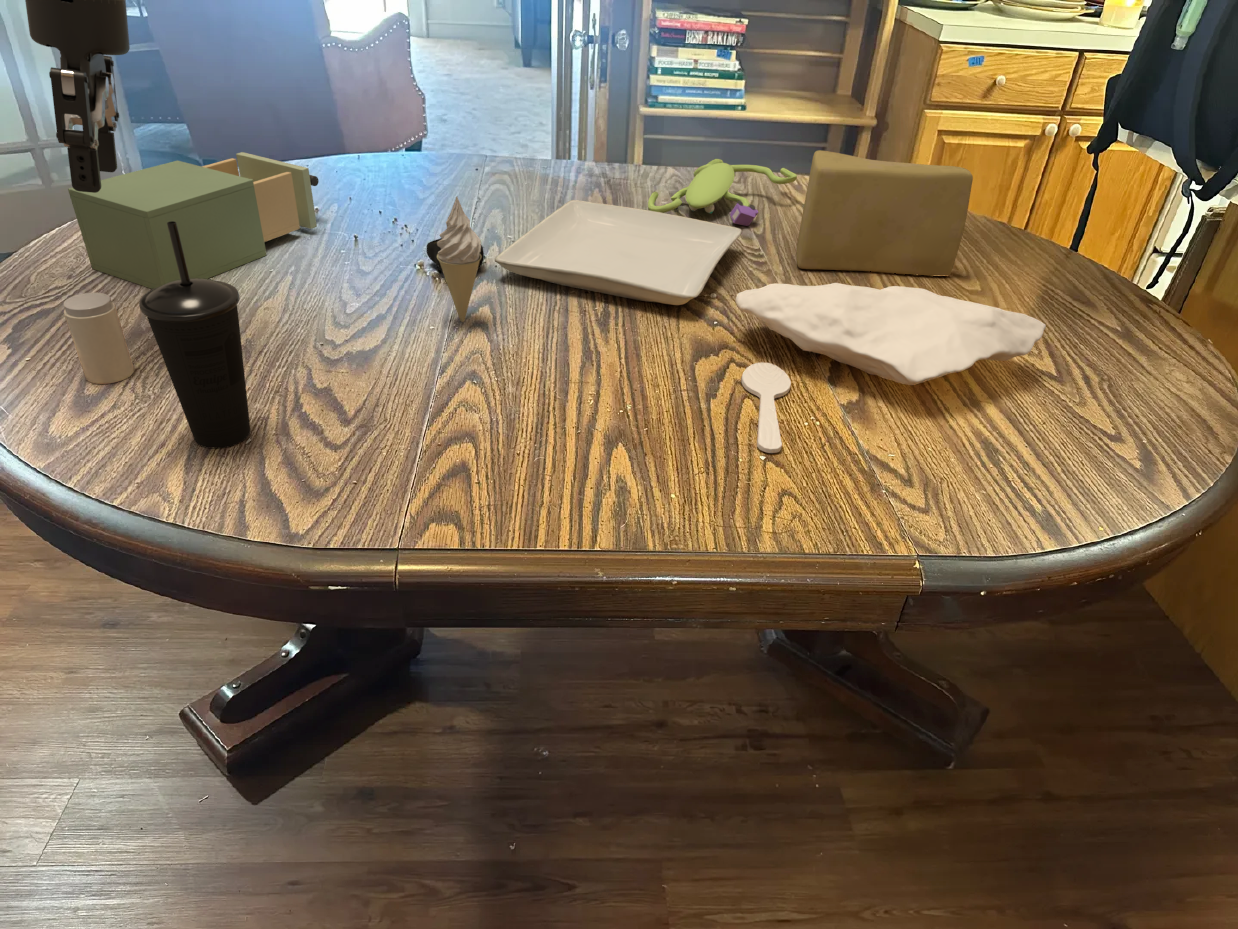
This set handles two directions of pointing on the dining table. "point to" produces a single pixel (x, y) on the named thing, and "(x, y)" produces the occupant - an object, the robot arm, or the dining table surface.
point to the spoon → (767, 401)
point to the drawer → (276, 192)
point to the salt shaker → (98, 338)
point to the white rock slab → (892, 328)
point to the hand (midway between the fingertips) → (96, 180)
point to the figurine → (719, 190)
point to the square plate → (621, 251)
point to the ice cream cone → (459, 257)
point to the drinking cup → (201, 351)
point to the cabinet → (149, 198)
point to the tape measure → (434, 249)
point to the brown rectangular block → (882, 215)
